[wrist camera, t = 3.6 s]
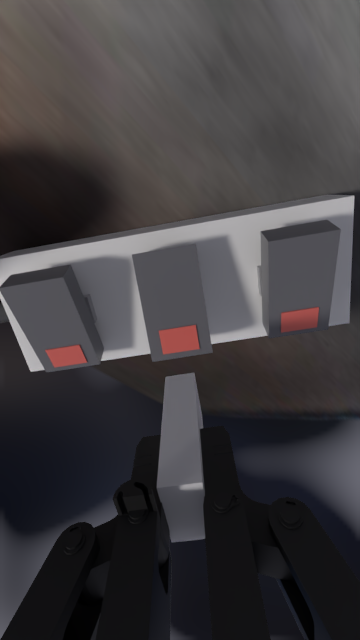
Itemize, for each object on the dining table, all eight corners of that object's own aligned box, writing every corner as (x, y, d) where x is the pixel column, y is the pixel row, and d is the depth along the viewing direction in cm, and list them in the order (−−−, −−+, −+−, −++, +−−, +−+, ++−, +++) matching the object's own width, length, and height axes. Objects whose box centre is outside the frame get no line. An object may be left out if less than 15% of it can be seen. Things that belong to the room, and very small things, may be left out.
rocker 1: (10, 274, 20) (-3, 289, 19) (70, 264, 20) (62, 277, 18) (53, 355, 24) (45, 373, 22) (104, 348, 24) (99, 364, 22)
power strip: (-80, 267, 26) (-132, 283, 21) (327, 194, 24) (360, 195, 19) (-33, 361, 29) (-70, 391, 25) (326, 304, 27) (354, 326, 23)
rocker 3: (260, 231, 19) (268, 242, 18) (327, 219, 19) (341, 229, 17) (262, 323, 23) (269, 339, 21) (317, 314, 23) (328, 330, 21)
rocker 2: (136, 254, 21) (131, 254, 19) (195, 244, 21) (195, 243, 19) (155, 353, 22) (152, 362, 20) (210, 345, 22) (212, 353, 20)
